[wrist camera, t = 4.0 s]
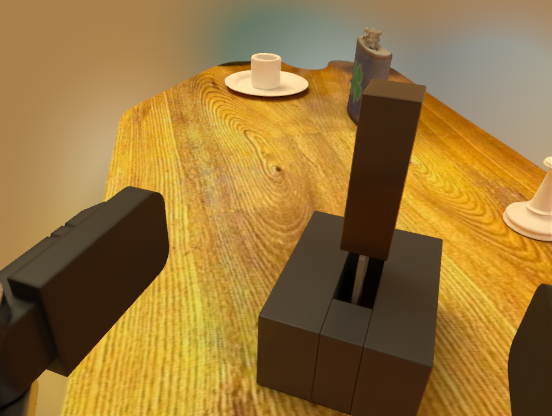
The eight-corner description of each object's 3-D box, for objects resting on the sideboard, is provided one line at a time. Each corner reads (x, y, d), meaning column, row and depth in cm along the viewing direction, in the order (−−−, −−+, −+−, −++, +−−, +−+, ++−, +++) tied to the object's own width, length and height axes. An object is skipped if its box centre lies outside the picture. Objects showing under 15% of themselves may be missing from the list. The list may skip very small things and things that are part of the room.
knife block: (255, 383, 24) (258, 315, 22) (308, 269, 32) (314, 210, 30) (409, 435, 22) (433, 367, 20) (424, 300, 30) (443, 238, 28)
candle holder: (281, 71, 73) (282, 43, 71) (324, 94, 65) (327, 63, 62) (211, 80, 68) (210, 50, 66) (248, 106, 59) (248, 72, 57)
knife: (323, 350, 26) (360, 95, 18) (335, 314, 29) (372, 75, 21) (365, 362, 26) (421, 104, 18) (373, 325, 28) (427, 83, 20)
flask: (382, 132, 54) (398, 37, 48) (357, 132, 54) (371, 36, 48) (363, 105, 62) (376, 20, 56) (342, 104, 61) (352, 19, 56)
